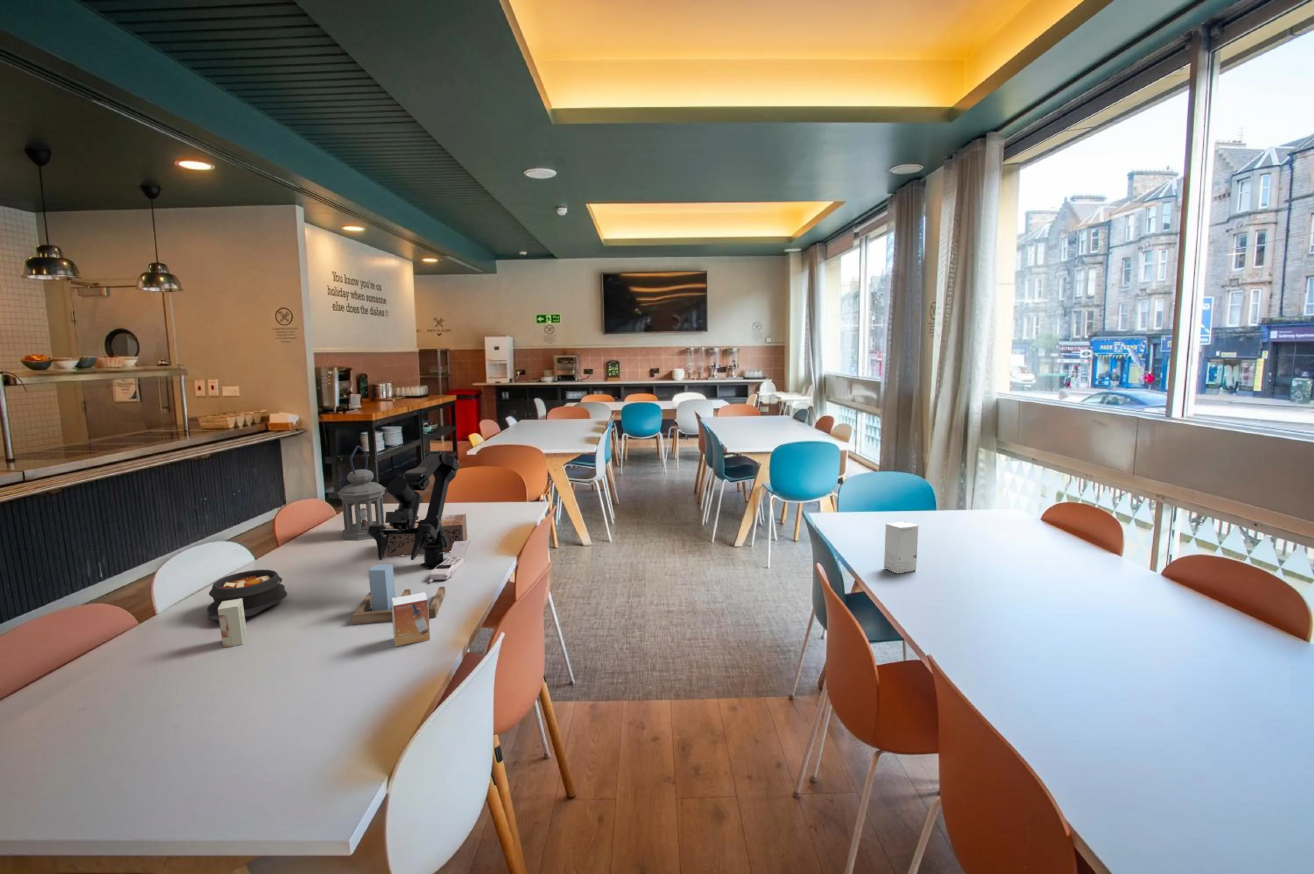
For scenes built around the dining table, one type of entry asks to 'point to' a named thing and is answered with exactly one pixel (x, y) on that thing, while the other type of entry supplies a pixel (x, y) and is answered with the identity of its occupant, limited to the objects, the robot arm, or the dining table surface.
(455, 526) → the tissue box cover
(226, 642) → the skincare box
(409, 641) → the small box
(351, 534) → the lantern
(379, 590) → the pale blue tall block
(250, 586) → the casserole
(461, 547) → the mobile phone
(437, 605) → the comb rack
